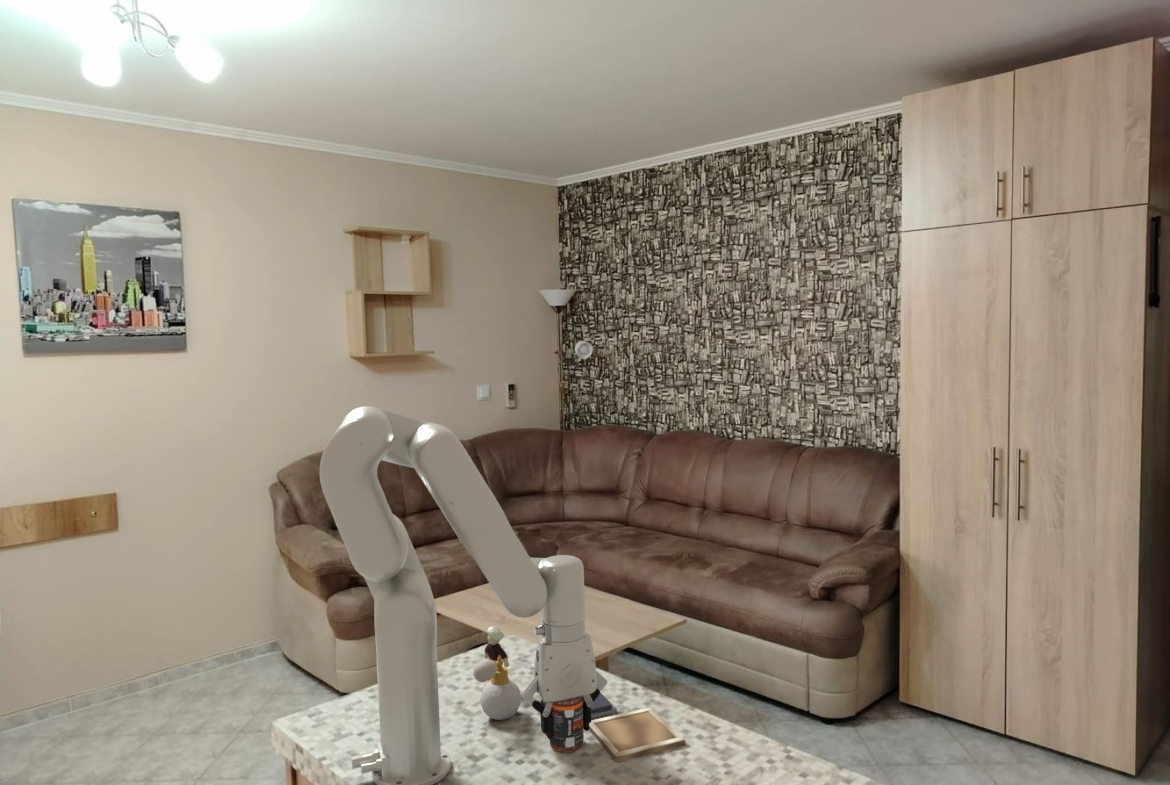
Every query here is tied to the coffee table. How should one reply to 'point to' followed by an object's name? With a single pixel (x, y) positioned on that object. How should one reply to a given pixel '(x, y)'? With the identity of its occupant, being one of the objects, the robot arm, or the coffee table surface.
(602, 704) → the pad
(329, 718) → the coffee table surface
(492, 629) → the grandmother figurine
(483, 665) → the perfume bottle
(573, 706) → the supplement bottle
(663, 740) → the framed board
